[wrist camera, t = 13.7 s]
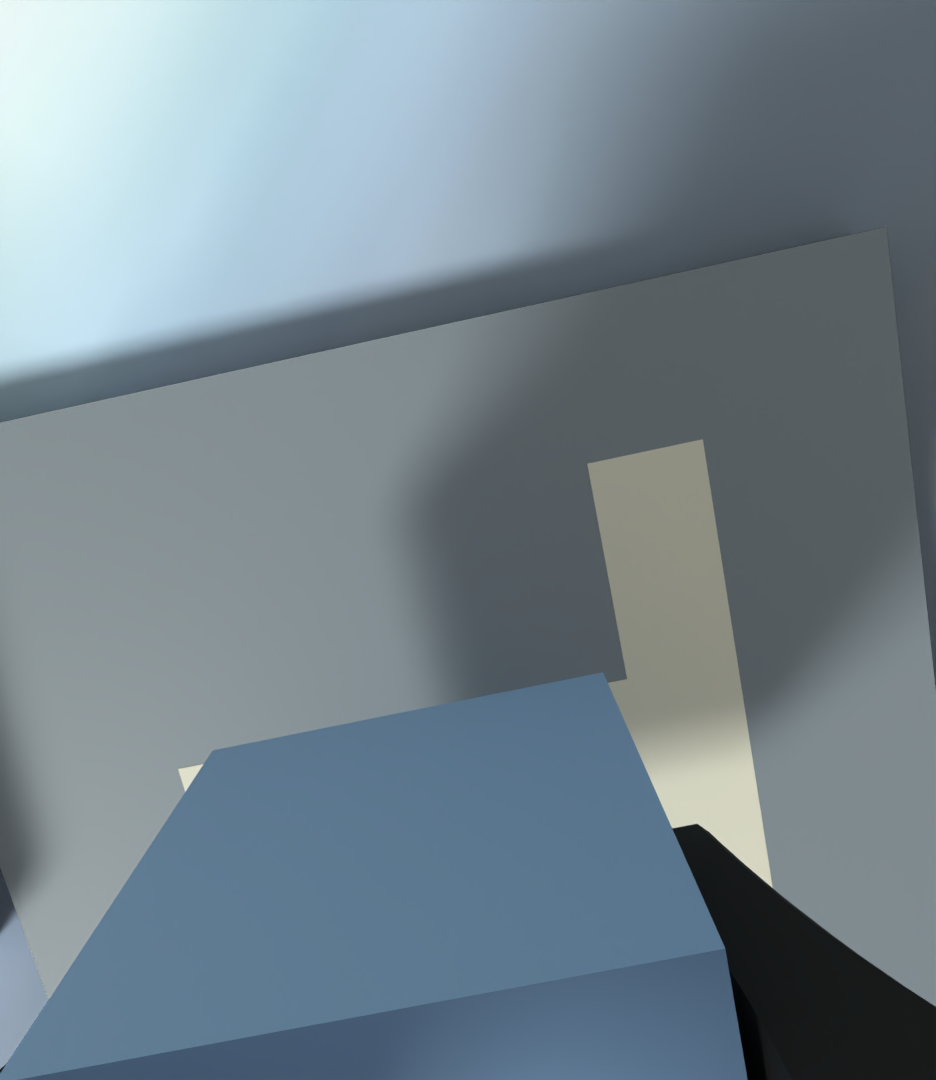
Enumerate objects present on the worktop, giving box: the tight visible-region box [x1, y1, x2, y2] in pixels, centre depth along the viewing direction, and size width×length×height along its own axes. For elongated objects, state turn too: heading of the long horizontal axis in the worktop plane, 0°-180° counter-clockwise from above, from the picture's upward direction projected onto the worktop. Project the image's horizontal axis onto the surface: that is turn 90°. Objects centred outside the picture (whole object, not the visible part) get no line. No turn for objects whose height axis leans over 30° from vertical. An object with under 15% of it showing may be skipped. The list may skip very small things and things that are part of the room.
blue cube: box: [0, 672, 748, 1080], centre depth 9 cm, size 5×5×5 cm
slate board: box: [0, 227, 936, 1006], centre depth 14 cm, size 16×14×1 cm
